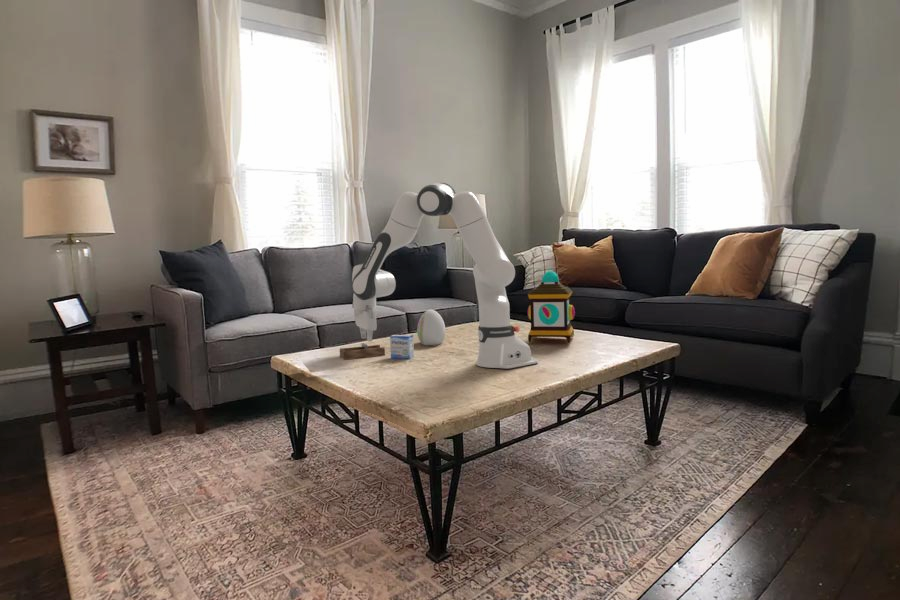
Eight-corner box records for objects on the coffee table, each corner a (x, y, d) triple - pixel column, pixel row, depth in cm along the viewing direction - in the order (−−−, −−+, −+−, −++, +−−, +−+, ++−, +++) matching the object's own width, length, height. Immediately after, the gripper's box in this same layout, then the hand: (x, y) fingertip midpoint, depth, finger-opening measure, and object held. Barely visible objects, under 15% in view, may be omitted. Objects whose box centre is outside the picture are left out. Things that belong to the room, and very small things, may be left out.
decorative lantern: (577, 337, 241) (576, 269, 238) (573, 344, 222) (572, 270, 219) (531, 336, 247) (530, 270, 244) (524, 343, 228) (522, 272, 226)
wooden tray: (379, 352, 221) (379, 344, 220) (384, 355, 213) (384, 347, 213) (339, 356, 214) (339, 348, 214) (344, 359, 207) (343, 351, 207)
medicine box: (390, 358, 205) (389, 336, 205) (395, 356, 210) (394, 334, 209) (410, 359, 203) (409, 336, 202) (414, 357, 207) (413, 334, 207)
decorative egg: (424, 341, 244) (423, 308, 242) (450, 342, 239) (448, 308, 238) (413, 346, 232) (411, 311, 231) (440, 346, 228) (438, 311, 227)
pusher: (364, 352, 217) (363, 343, 217) (367, 354, 212) (367, 344, 212) (361, 352, 216) (361, 343, 216) (365, 354, 211) (364, 345, 211)
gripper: (379, 306, 205) (381, 342, 206) (366, 302, 223) (368, 335, 225) (363, 307, 202) (365, 344, 203) (351, 303, 221) (353, 337, 222)
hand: (366, 339), depth 214 cm, fingers open, 8 cm apart
